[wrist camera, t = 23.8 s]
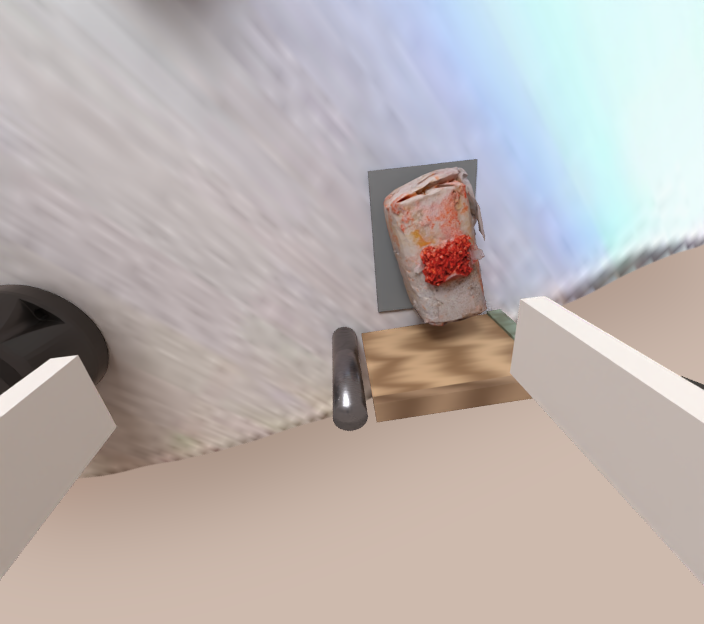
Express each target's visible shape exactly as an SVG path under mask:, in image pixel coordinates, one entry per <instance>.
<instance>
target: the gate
mask: <svg viewBox="0 0 704 624" xmlns="http://www.w3.org/2000/svg"><path fill="white" fill-rule="evenodd" d="M516 326H517V324H516V323H515V322H514V321H513V320H512V319H510V318H509V317H508V316H507V315H506V314H505V313H504V312H502V311H501V310H500V309H499V310H492V311H487V314H483V315H477V316H473V317H470V318H468V319H465V320H462V321H456V322H451V323H447V324H446V325H444V326H433V325H430V324H429V323H426V324H419V325H413V326H407V327H400V328H394V329H388V330H381V331H375V332H369V333H362V340H363V347H364V352H365V358H366V363H367V369H368V375H369V380H370V386H371V392H372V397H373V403H374V408H375V415H376V420H377V422H382V421H389V420H395V419H402V418H408V417H415V416H421V415H428V414H434V413H441V412H446V411H453V410H459V409H467V408H473V407H479V406H485V405H492V404H499V403H505V402H512V401H518V400H524V399H531V398H532V397H531V396H530V395H529V393H528V392H527V391H526V390H525V389H524V388H523V387H522V386H521V385H520V384H519V382H518V381H517V380H516V379H515V378H514V377H513V376H512V375H511V374H510V368H511V361H512V354H513V347H514V340H515V333H516Z"/></svg>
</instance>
